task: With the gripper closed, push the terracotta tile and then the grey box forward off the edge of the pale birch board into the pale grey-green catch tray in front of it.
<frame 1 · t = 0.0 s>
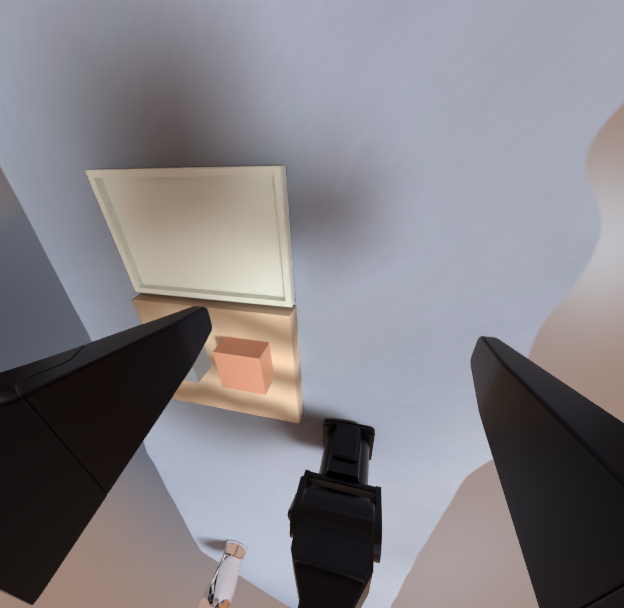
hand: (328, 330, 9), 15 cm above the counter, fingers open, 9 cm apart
birch board: (229, 354, 33), on the counter
catch tray: (200, 238, 25), on the counter
beer glass: (237, 544, 70), on the counter
terracotta tile: (250, 357, 29), point 2 cm above the counter, touching birch board
grey box: (186, 348, 31), point 2 cm above the counter, touching birch board
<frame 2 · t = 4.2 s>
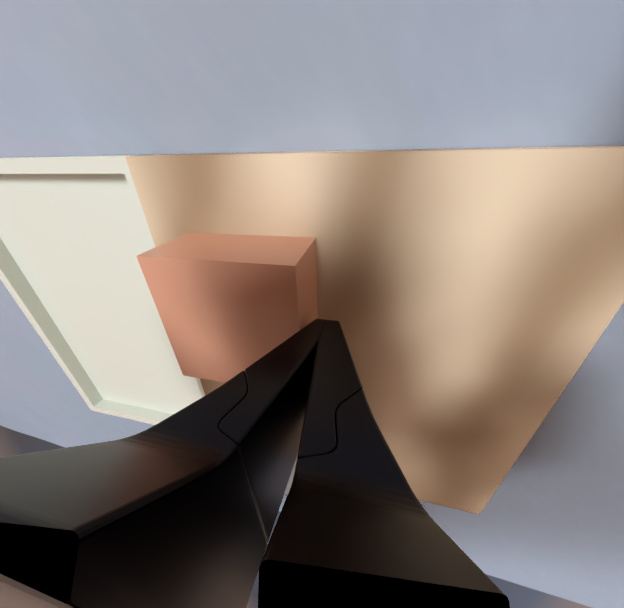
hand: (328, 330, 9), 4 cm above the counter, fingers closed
birch board: (350, 350, 14), on the counter
catch tray: (120, 319, 17), on the counter
terracotta tile: (257, 295, 11), point 2 cm above the counter, touching gripper
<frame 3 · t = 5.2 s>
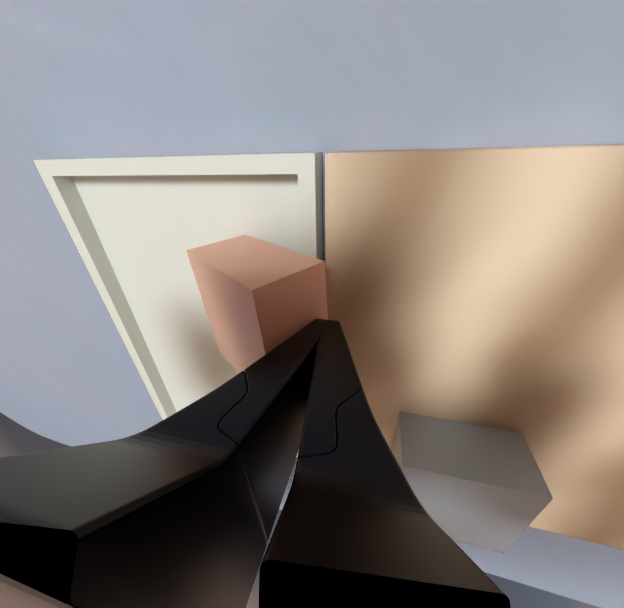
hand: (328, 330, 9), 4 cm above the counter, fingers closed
birch board: (503, 371, 12), on the counter
catch tray: (221, 333, 15), on the counter
terracotta tile: (286, 304, 11), point 2 cm above the counter, tilted 36°, touching catch tray, gripper
grey box: (445, 453, 13), point 2 cm above the counter, touching birch board
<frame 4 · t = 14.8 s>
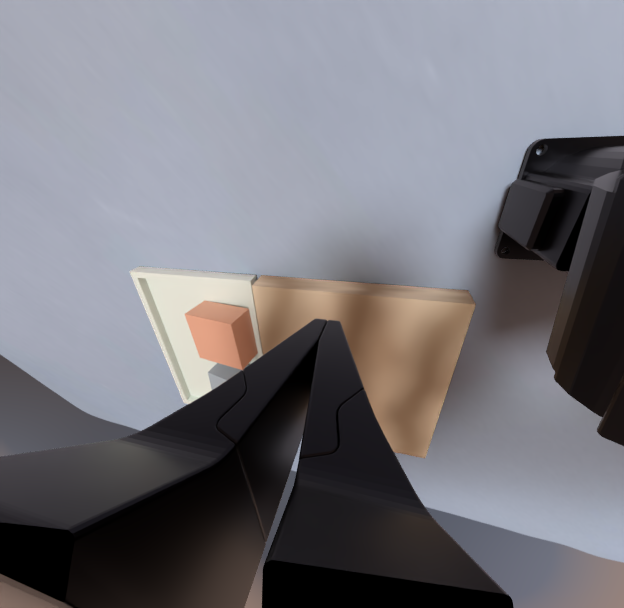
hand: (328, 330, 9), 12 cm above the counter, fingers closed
birch board: (351, 366, 25), on the counter
catch tray: (216, 347, 29), on the counter
terracotta tile: (231, 326, 25), point 1 cm above the counter, tilted 10°, touching catch tray
grey box: (245, 380, 29), point 1 cm above the counter, tilted 10°, touching catch tray
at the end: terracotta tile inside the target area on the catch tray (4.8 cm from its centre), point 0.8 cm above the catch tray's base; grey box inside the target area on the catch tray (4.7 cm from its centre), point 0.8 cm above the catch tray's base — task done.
